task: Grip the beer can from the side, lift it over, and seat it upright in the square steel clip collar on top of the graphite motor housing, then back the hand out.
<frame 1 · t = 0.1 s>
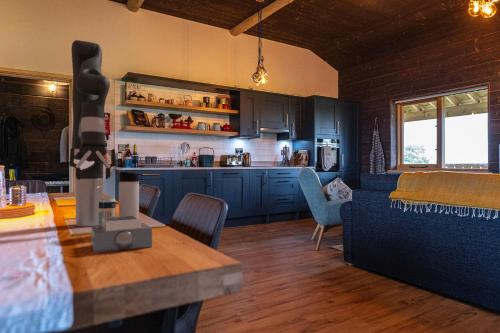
hand: (93, 179, 113), 17 cm above the table, tool pointing down, fingers open, 8 cm apart
beer can: (107, 238, 101), on the table
travel mug: (128, 232, 110), on the table
motor housing: (121, 246, 90), on the table
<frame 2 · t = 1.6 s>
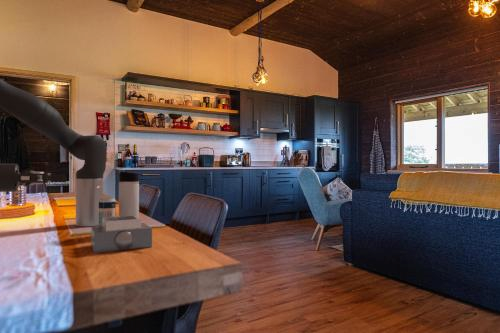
hand: (66, 177, 96), 18 cm above the table, tool horizontal, fingers open, 8 cm apart
nothing on the table moved.
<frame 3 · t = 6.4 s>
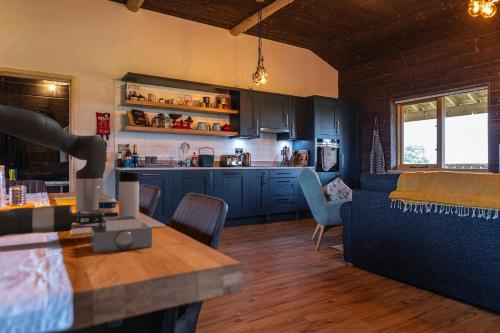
hand: (116, 215, 103), 7 cm above the table, tool horizontal, fingers closed on beer can, 4 cm apart
beer can: (107, 238, 101), on the table, touching gripper
everything else where it was.
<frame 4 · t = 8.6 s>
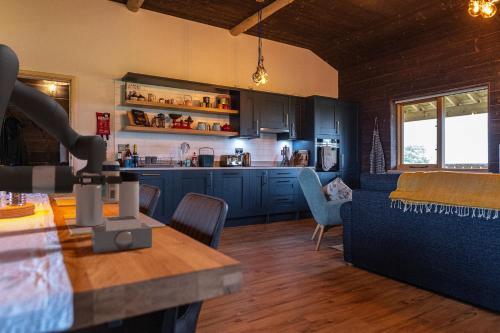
hand: (120, 179, 98), 18 cm above the table, tool horizontal, fingers closed on beer can, 4 cm apart
beer can: (110, 203, 97), point 11 cm above the table, touching gripper
everything else where it was.
when the fingers open (13 cm above the table, at t = 11.2 s): beer can drops 1 cm, resting on motor housing.
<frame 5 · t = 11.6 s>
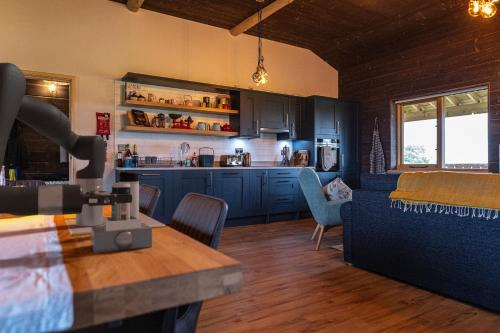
hand: (129, 197, 91), 13 cm above the table, tool horizontal, fingers open, 8 cm apart
beer can: (120, 228, 90), point 5 cm above the table, touching motor housing
everything else where it was.
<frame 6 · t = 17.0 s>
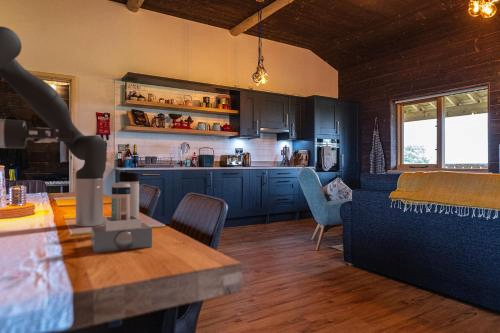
hand: (74, 136, 95), 30 cm above the table, tool horizontal, fingers open, 8 cm apart
nothing on the table moved.
at the end: beer can 0.1 cm off-centre on the motor housing, point 4.8 cm above the motor housing's base; beer can tilted 0°; the gripper is holding nothing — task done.
